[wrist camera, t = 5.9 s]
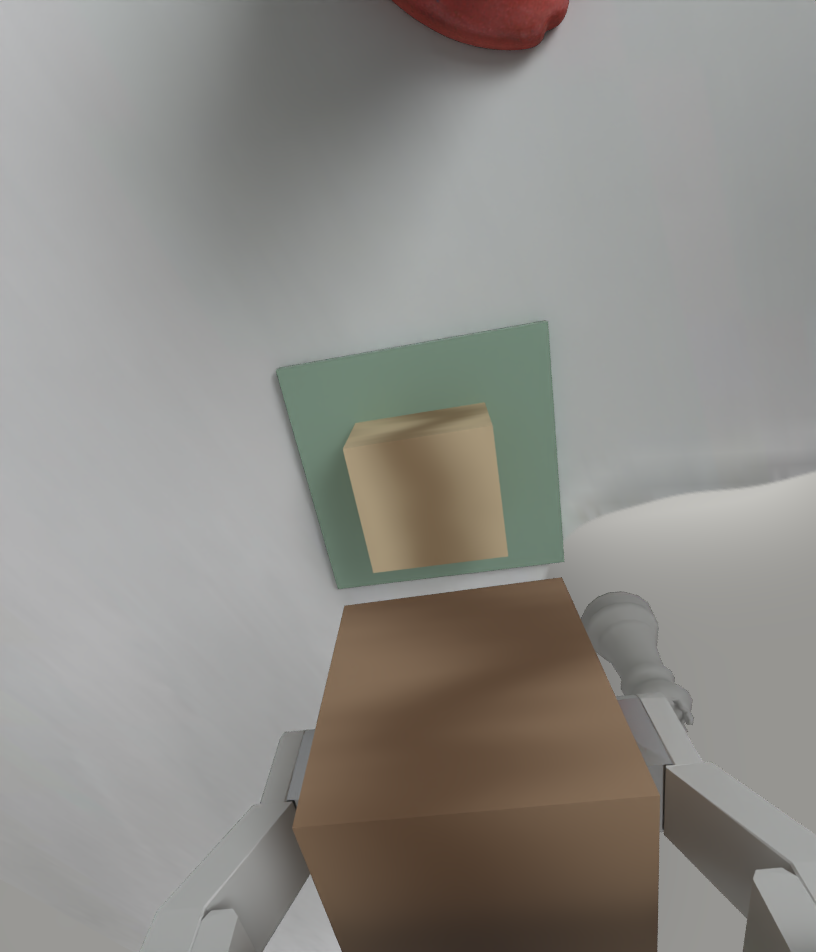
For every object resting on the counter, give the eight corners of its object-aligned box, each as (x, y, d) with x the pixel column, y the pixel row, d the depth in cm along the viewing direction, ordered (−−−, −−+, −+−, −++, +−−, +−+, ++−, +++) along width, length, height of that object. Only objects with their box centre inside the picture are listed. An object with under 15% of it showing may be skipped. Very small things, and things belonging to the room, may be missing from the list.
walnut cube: (561, 577, 11) (660, 795, 6) (573, 737, 13) (656, 995, 8) (344, 606, 12) (292, 828, 7) (385, 756, 13) (366, 1010, 9)
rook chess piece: (603, 653, 33) (650, 765, 26) (564, 611, 32) (602, 716, 25) (663, 620, 32) (731, 728, 25) (626, 574, 31) (685, 674, 23)
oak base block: (484, 402, 26) (492, 425, 22) (499, 518, 29) (508, 556, 25) (355, 422, 27) (342, 449, 23) (381, 534, 30) (373, 573, 26)
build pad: (545, 320, 25) (547, 321, 24) (561, 556, 30) (564, 561, 30) (279, 367, 27) (275, 370, 26) (339, 583, 32) (337, 589, 31)
